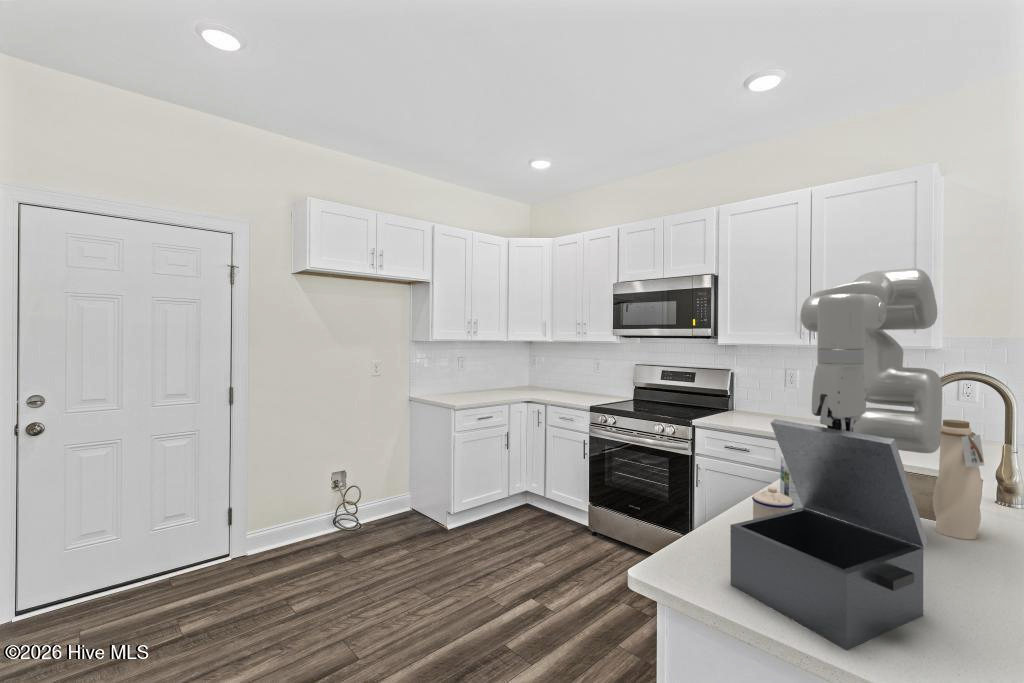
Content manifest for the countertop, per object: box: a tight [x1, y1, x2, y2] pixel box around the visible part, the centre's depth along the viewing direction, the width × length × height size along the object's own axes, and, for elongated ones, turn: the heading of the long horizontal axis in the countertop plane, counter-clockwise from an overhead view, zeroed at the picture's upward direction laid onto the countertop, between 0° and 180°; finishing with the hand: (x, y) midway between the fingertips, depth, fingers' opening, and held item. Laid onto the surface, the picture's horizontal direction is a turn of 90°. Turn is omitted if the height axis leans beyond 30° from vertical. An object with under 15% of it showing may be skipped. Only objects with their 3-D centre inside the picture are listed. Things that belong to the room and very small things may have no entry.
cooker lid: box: [770, 418, 928, 549], centre depth 93 cm, size 22×22×4 cm
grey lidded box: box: [729, 508, 924, 651], centre depth 90 cm, size 22×27×12 cm
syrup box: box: [779, 454, 806, 509], centre depth 138 cm, size 6×6×14 cm
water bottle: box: [932, 419, 985, 540], centre depth 119 cm, size 10×9×28 cm
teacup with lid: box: [751, 486, 794, 520], centre depth 120 cm, size 12×9×12 cm
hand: (840, 453), depth 92 cm, fingers closed
